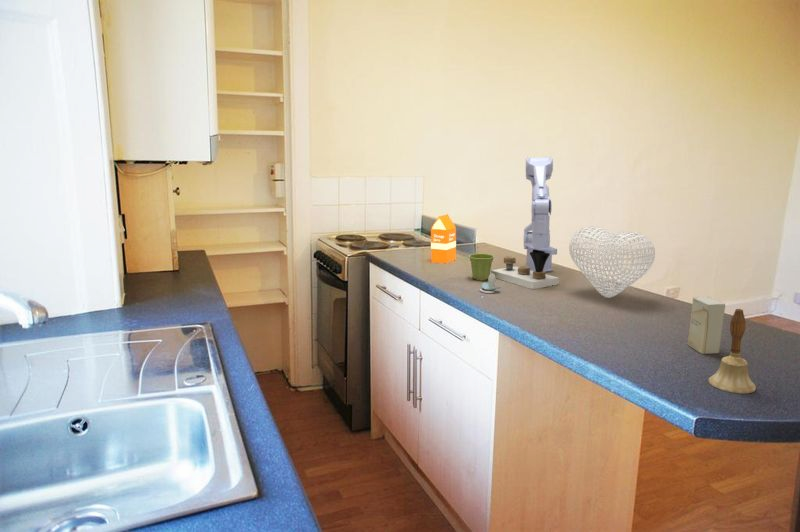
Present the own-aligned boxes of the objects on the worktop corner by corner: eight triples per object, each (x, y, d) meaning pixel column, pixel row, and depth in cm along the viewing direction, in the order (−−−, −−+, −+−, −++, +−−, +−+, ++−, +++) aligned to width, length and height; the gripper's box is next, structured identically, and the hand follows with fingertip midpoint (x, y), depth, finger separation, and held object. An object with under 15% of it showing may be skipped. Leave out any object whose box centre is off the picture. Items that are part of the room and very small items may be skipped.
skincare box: (686, 345, 134) (691, 297, 132) (704, 344, 134) (708, 296, 132) (702, 354, 128) (707, 304, 125) (721, 353, 128) (726, 303, 126)
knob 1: (510, 267, 211) (510, 255, 210) (517, 269, 208) (518, 257, 207) (501, 268, 209) (501, 256, 208) (508, 270, 206) (509, 258, 205)
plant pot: (493, 275, 211) (493, 253, 209) (494, 281, 201) (495, 258, 200) (468, 275, 212) (468, 253, 210) (468, 281, 202) (469, 258, 201)
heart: (661, 303, 169) (667, 232, 165) (629, 311, 162) (634, 237, 157) (589, 285, 193) (592, 222, 188) (557, 291, 185) (560, 226, 181)
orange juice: (456, 260, 242) (456, 214, 237) (446, 263, 234) (446, 217, 230) (440, 258, 246) (440, 213, 242) (430, 262, 238) (430, 216, 234)
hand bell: (751, 397, 106) (760, 318, 103) (703, 386, 111) (711, 310, 108) (759, 383, 112) (768, 308, 109) (714, 373, 118) (721, 301, 114)
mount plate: (515, 272, 215) (515, 266, 214) (558, 284, 195) (558, 277, 195) (491, 276, 209) (491, 270, 209) (532, 289, 190) (533, 282, 189)
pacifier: (488, 295, 184) (502, 292, 186) (488, 277, 182) (502, 274, 185) (475, 291, 190) (489, 288, 193) (475, 273, 188) (488, 270, 191)
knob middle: (524, 277, 205) (524, 265, 204) (532, 280, 201) (532, 267, 200) (515, 279, 203) (515, 267, 202) (523, 281, 199) (523, 269, 198)
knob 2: (539, 282, 198) (539, 269, 197) (547, 284, 194) (548, 271, 194) (529, 283, 196) (530, 271, 195) (538, 286, 192) (538, 273, 191)
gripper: (517, 232, 196) (516, 269, 199) (546, 237, 183) (545, 277, 186) (532, 230, 199) (531, 267, 202) (562, 235, 187) (560, 274, 190)
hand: (539, 271), depth 194 cm, fingers closed, pressing on knob 2
